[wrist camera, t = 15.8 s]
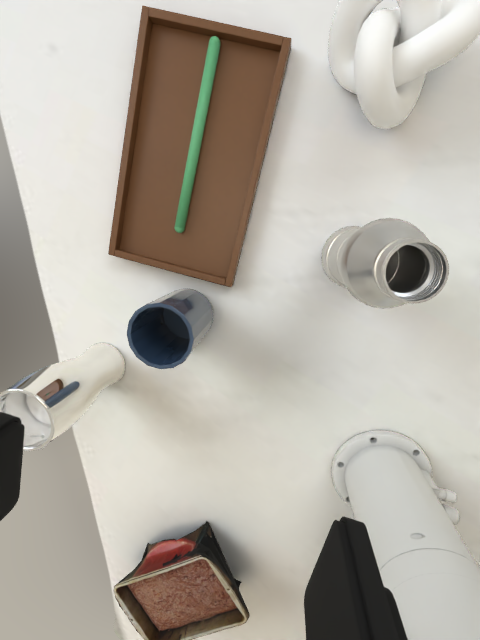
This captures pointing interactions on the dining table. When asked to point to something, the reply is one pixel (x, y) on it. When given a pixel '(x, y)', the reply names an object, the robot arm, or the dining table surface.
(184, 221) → the straw
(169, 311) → the tumbler
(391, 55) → the white decorative knot
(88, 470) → the dining table surface
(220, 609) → the baking dish
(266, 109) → the tray
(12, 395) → the beer glass
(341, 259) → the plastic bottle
